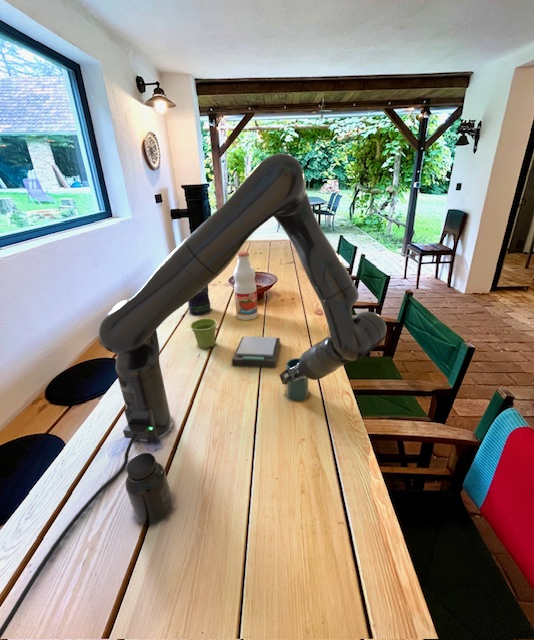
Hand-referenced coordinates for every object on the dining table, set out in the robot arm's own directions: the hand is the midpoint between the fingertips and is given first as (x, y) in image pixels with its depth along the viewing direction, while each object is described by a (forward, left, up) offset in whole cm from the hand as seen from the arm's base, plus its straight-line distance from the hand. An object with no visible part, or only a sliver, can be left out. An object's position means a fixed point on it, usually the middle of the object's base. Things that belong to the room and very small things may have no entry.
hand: (294, 377), depth 90 cm
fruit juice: (+52, +24, -5) cm, 57 cm away
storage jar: (+56, +47, -5) cm, 73 cm away
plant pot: (+25, +34, -5) cm, 42 cm away
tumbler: (-1, -1, -5) cm, 5 cm away
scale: (+20, +14, -5) cm, 25 cm away
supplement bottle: (-38, +24, -5) cm, 45 cm away
